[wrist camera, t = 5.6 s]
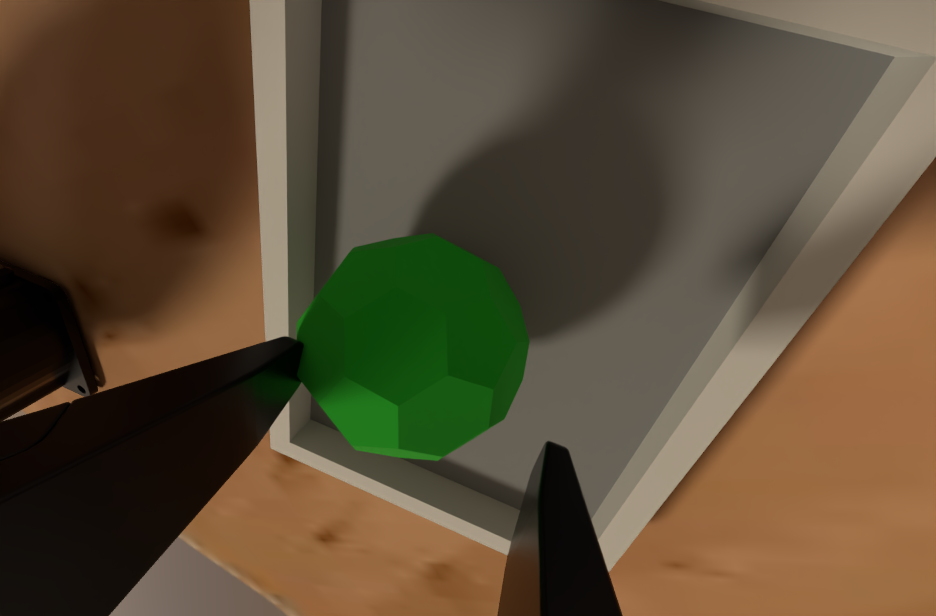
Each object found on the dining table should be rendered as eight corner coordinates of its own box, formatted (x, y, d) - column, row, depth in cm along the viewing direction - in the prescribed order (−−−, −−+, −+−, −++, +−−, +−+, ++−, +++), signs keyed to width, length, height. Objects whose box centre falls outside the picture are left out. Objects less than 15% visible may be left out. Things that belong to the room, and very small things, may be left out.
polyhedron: (365, 190, 11) (219, 264, 7) (558, 225, 10) (511, 334, 6) (372, 350, 14) (268, 468, 10) (527, 391, 13) (480, 543, 9)
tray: (596, 532, 16) (592, 593, 14) (307, 408, 18) (270, 448, 16) (951, 15, 7) (1057, 1, 6) (319, -125, 9) (241, -171, 7)
